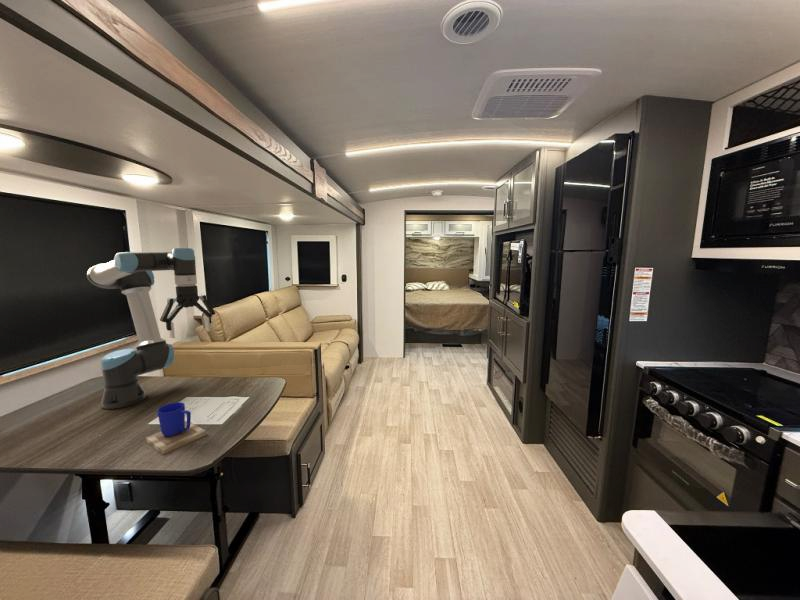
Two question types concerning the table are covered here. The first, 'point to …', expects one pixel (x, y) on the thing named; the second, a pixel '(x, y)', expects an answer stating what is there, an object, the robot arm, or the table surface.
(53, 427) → the table surface
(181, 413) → the mug
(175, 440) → the trivet
